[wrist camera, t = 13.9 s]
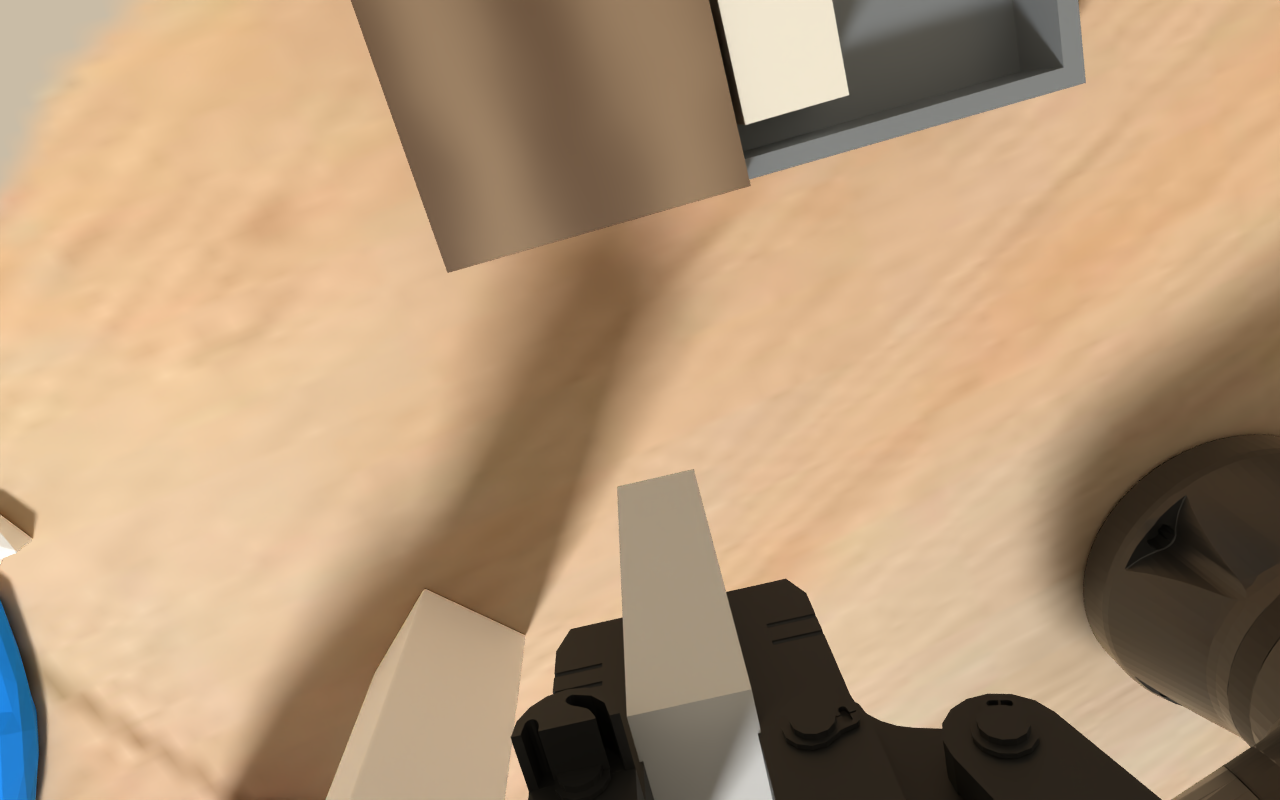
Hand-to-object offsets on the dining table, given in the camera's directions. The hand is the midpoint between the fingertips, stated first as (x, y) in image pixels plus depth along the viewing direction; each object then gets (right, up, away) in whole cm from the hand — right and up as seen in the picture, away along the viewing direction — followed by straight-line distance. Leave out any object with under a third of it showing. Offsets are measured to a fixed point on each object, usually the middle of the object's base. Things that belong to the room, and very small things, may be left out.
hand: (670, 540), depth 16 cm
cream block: (+3, +16, +17) cm, 23 cm away
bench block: (-5, +18, +19) cm, 27 cm away
